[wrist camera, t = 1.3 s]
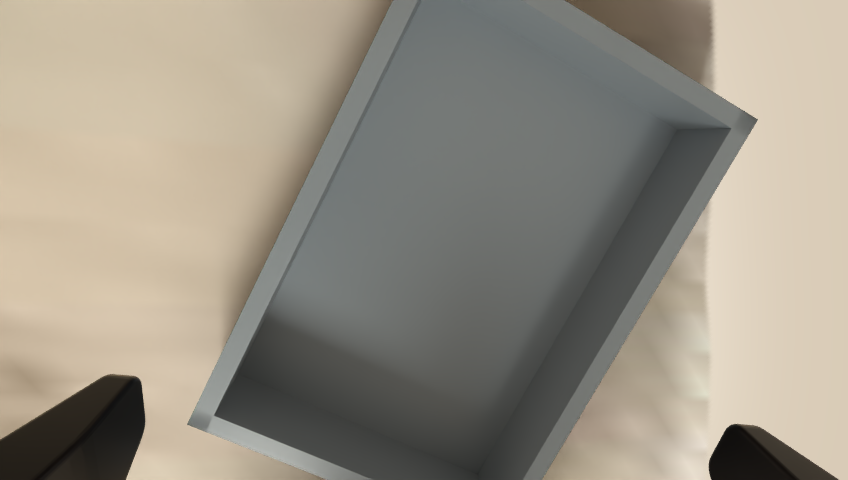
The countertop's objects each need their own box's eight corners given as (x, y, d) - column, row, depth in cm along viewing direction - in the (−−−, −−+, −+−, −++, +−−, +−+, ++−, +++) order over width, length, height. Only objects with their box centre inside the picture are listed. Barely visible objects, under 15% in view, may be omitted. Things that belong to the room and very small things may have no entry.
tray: (480, 482, 21) (500, 548, 18) (220, 374, 19) (187, 424, 16) (689, 122, 19) (757, 119, 16) (420, -39, 17) (432, -82, 14)
